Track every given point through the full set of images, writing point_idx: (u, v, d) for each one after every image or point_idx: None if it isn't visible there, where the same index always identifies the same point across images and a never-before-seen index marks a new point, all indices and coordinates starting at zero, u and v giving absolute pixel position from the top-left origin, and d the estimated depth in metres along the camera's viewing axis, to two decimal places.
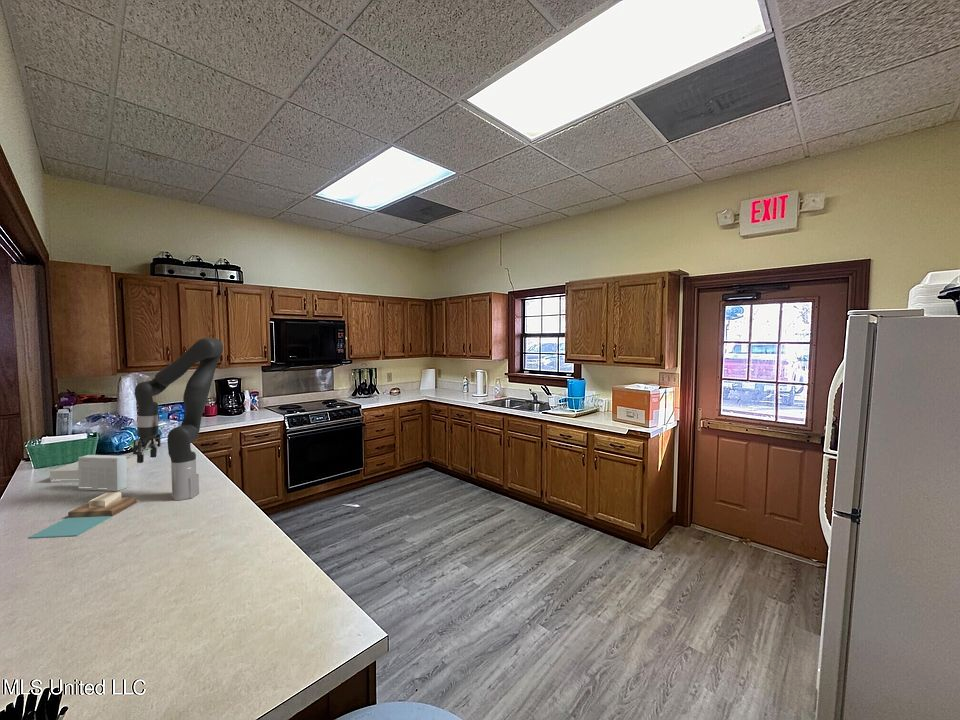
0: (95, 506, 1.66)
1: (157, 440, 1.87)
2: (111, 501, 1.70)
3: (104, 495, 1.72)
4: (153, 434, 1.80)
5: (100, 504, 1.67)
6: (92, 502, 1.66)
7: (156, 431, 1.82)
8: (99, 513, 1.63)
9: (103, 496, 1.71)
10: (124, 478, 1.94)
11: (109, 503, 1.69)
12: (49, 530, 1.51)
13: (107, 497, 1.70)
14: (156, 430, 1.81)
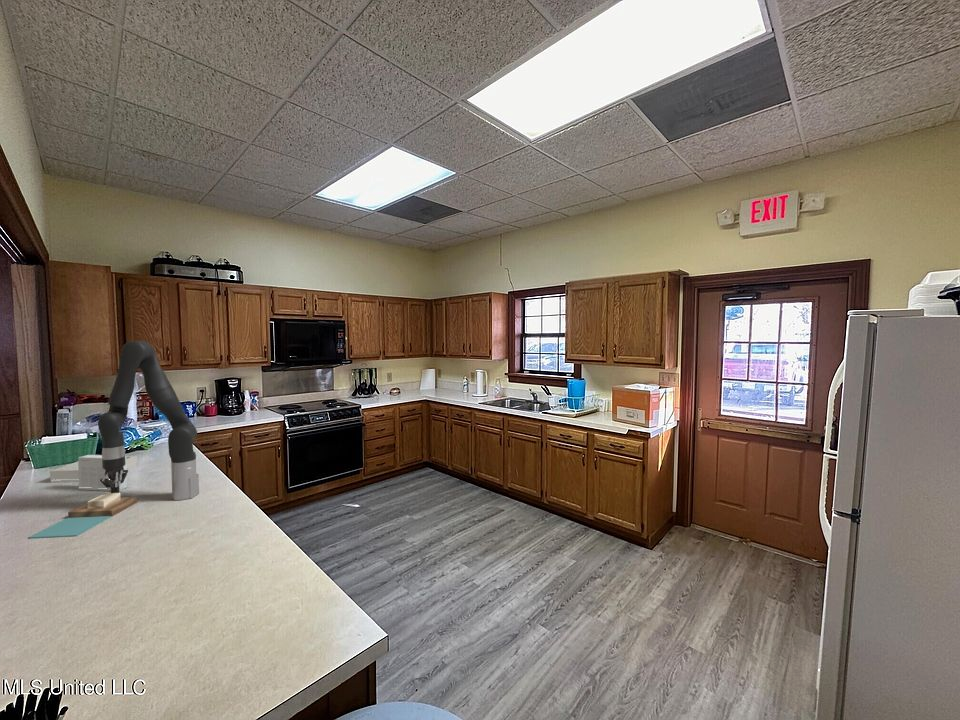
0: (94, 507, 1.66)
1: (122, 475, 1.80)
2: (109, 501, 1.69)
3: (103, 496, 1.71)
4: (119, 466, 1.74)
5: (99, 505, 1.66)
6: (91, 503, 1.65)
7: (123, 462, 1.76)
8: (99, 513, 1.63)
9: (102, 497, 1.70)
10: None
11: (108, 504, 1.68)
12: (49, 530, 1.51)
13: (106, 498, 1.69)
14: (122, 461, 1.75)
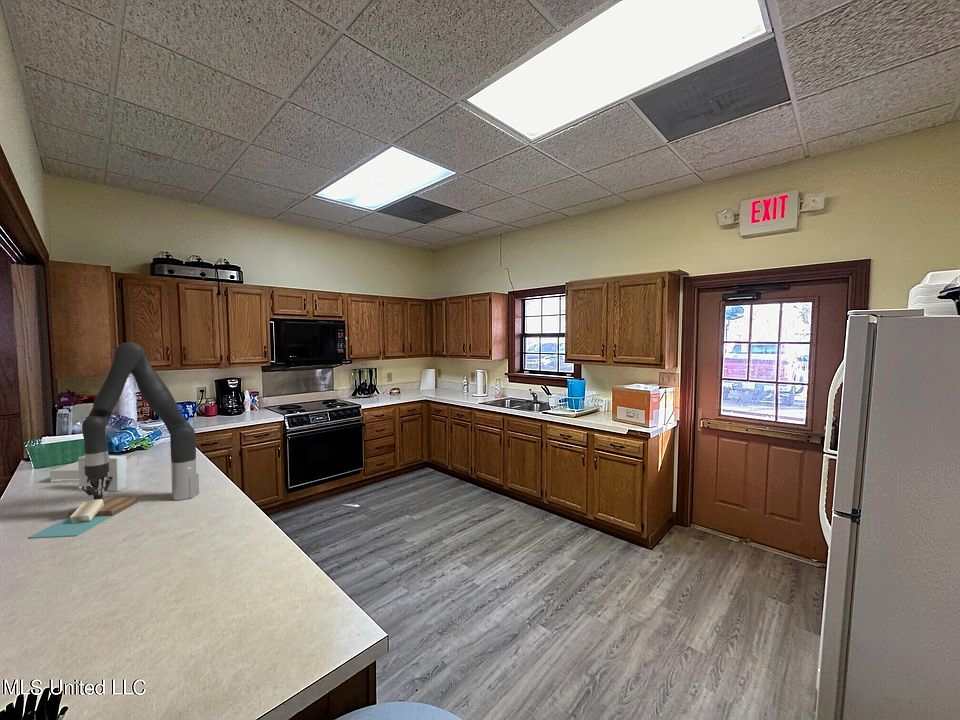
0: (79, 521, 1.58)
1: (106, 482, 1.71)
2: (94, 512, 1.61)
3: (84, 505, 1.62)
4: (103, 472, 1.66)
5: (84, 519, 1.58)
6: (74, 518, 1.57)
7: (106, 469, 1.67)
8: (99, 513, 1.63)
9: (83, 507, 1.61)
10: (124, 478, 1.94)
11: (93, 515, 1.60)
12: (49, 530, 1.51)
13: (89, 509, 1.60)
14: (106, 468, 1.67)
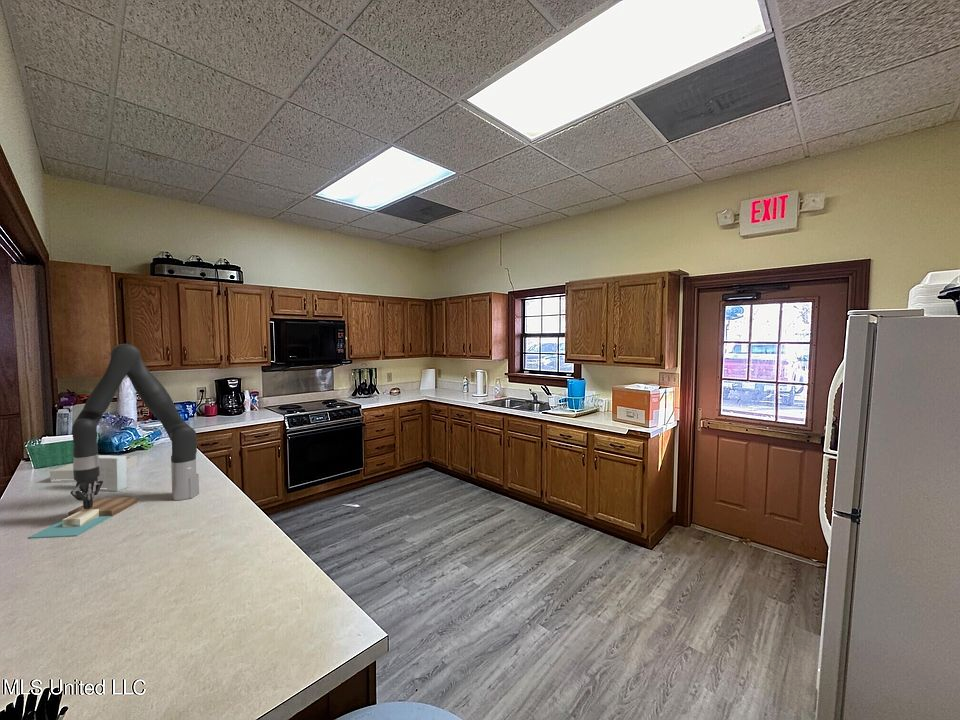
0: (69, 525, 1.54)
1: (96, 487, 1.66)
2: (87, 519, 1.58)
3: (80, 512, 1.59)
4: (92, 477, 1.60)
5: (75, 523, 1.54)
6: (66, 521, 1.54)
7: (96, 473, 1.62)
8: (99, 513, 1.63)
9: (78, 514, 1.58)
10: (124, 478, 1.94)
11: (85, 521, 1.57)
12: (49, 530, 1.51)
13: (83, 515, 1.57)
14: (95, 472, 1.61)
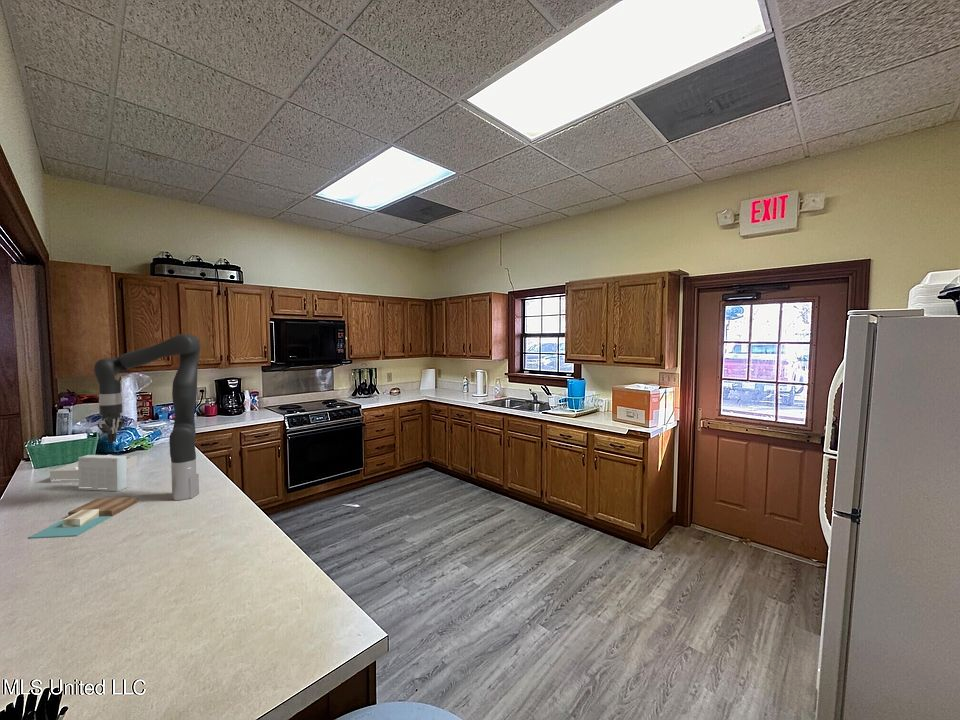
0: (69, 525, 1.54)
1: (119, 423, 1.81)
2: (87, 519, 1.58)
3: (80, 512, 1.59)
4: (116, 412, 1.76)
5: (75, 523, 1.54)
6: (66, 521, 1.54)
7: (120, 409, 1.78)
8: (99, 513, 1.63)
9: (78, 514, 1.58)
10: (124, 478, 1.94)
11: (85, 521, 1.57)
12: (49, 530, 1.51)
13: (83, 515, 1.57)
14: (119, 408, 1.77)
